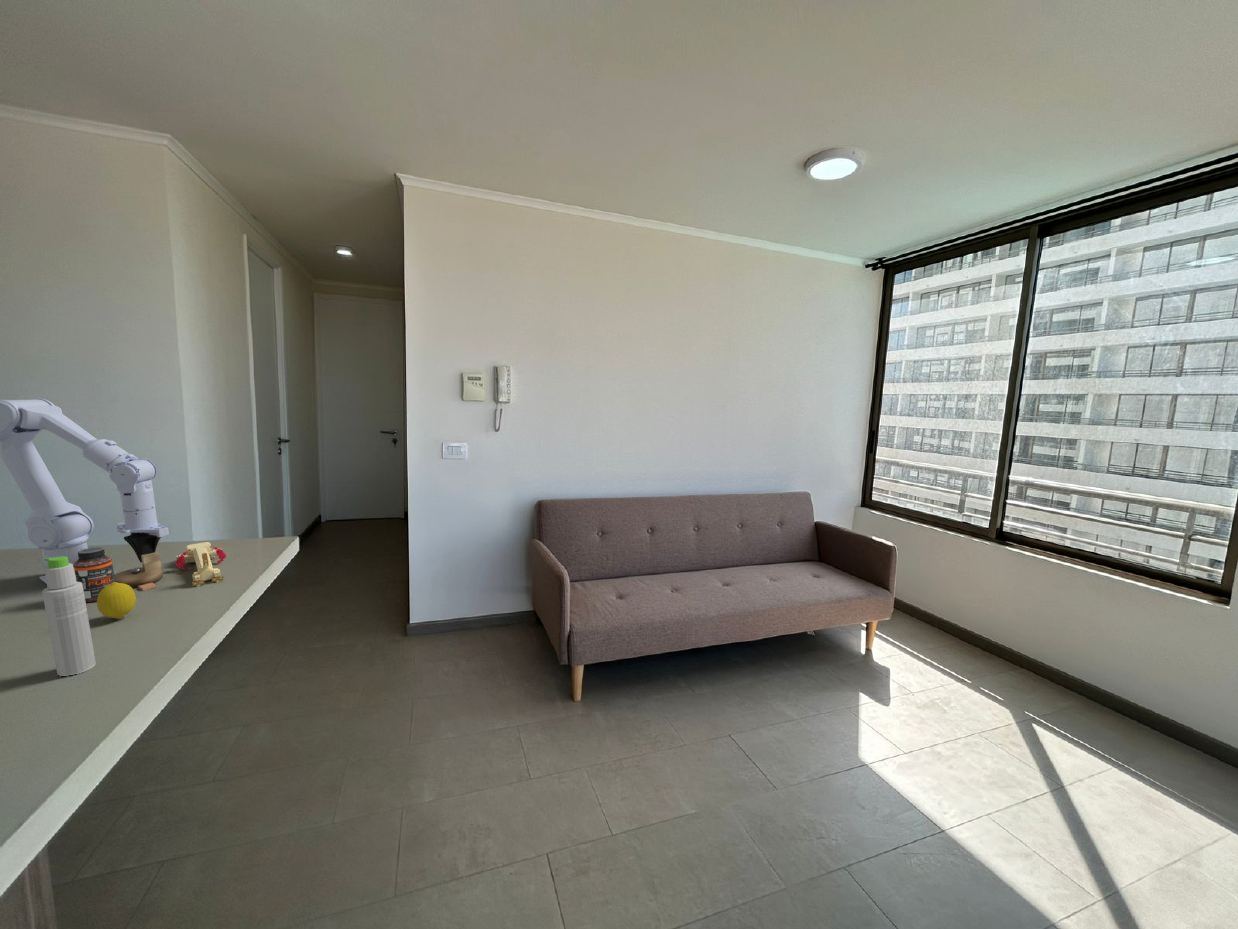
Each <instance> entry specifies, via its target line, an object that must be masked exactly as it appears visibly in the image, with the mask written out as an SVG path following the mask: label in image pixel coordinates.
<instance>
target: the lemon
mask: <svg viewBox="0 0 1238 929" xmlns="http://www.w3.org/2000/svg"><path fill="white" fill-rule="evenodd" d="M136 603H137V596H136V593H135V591H134V588H131V587H130V586H129V585H127V584H123V583H117V582H113V583H111V584H110V585H108V586H106V587H105V588H104V589H102V590H101V591H100V593H99V595H98V598H97V601H96V606H97V610H98V611H99V612H100V614H101V615H102V616H104V617H107V618H113V619H116V620H121V619H122V618H124V616H126V615H128V614H129V613H130V612H131V611H132V610H133V609H134V608H135V606H136Z"/></svg>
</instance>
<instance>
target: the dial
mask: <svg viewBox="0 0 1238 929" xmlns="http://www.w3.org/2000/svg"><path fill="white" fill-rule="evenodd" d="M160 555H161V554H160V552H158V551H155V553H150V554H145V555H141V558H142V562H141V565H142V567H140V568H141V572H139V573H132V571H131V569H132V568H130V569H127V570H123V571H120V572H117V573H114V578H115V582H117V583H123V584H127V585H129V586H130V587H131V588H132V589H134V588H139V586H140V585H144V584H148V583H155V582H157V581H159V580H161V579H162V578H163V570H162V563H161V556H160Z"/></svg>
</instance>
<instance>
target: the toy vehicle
mask: <svg viewBox="0 0 1238 929" xmlns="http://www.w3.org/2000/svg"><path fill="white" fill-rule="evenodd" d="M214 554H216V555H214ZM226 555H227V554H226V552H224V550H223V549H222V548H218V546H212V545H211V542H209V541H205V542H198V543H192V544H188V545H186V546H185V552H182V554H179V555H176V556H175V558H176V560H175V566H176V567H177V568H179V569H180V570H184V571H190V570H189V568H188V569H187V566H185V564H187V563H195V566H196V569H197V571H195V572H194V571H193V574H192V575H191V576H192V580H191V584H192V587H194V586H195V587H196V586H198V587H200V586H199V585H201V586H202V585H204V584H205V582H206V581H211V582H212V583H214V582H215V581H216V582H217V583H219V582H218V581H220V582H221V581H224V575H223V574H221V570H220V568H218V567H214V568H213V564H212V560H211V559H216V556H217V557H218V559H219V560H217V565H220V564H221V563H222V562H224V560H225V559H226V557H227V556H226ZM210 579H211V580H210ZM216 582H215V583H216Z"/></svg>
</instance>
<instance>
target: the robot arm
mask: <svg viewBox="0 0 1238 929" xmlns="http://www.w3.org/2000/svg"><path fill="white" fill-rule="evenodd" d="M44 430H46V431H48V432H50V433H52V434H54V435H55V436H56V437H57V436H58V437H60V438H61V439H63V440H64V441H66V442H68V443H70V444H71V445H74V446H76V447H78V448H79V449H81V451H82V455H83V457H84V458H85V459H86V460H88V461H89V462H92V463H93V464H95V465H96V466H98V467H99V468H101V469H102V470H104V471H106V472H107V473H109V478H110V481H112V483H114V484H115V485H116V487H117V488H116V489H117V492H119V493H120V500H121V508H122V514H123V521H124V522H121V523H117V524H115V525H116V526H115V527H116V531H117V533H119V534H129V533H130V534H129V535H126V536H124V537H123V539H124V541H125V542H127V544H128V545H129V546H130V547H131V549H132V550H133V552H134V553H135V555H136V557H137V559H138V560H139V562H140V563H142V558H141V555H145V554H150V553H155V552H157V551H156V550H157V547H158V544H159V542H160V540H161V538H163V537H165V536H166V537H167V536H169V535H170V533H169V532H170V531H169V527H167V526H163V525H162V524H160V523H159V522H158V517H157V516H158V515H157V508H156V501H155V495H154V494H155V493H154V488H153V479H155V478H156V476H157V474H158V470H157V467H156V464H154V463H153V461H151V460H150V459H148V458H145V457H144V458H143V457H137V456H135V455H134V454H133V453H129V452H128V451H127V450H125V449H123V448H122V447H120V446H118V445H117V444H118V443H117V442H115V441H114V440H113V439H112V440H111V439H110V440H109V439H106V438H102V439H98V438H96V437H95V436H94V435H92V434H90V433H89V432H88V431H86V430H85V429H84V428H82V427H81V426H80V425H79V424H77V423H76V422H74V421H73V420H72V419H70V418H69V417H67V416H66V415H64V414H63V411H62V408H61V407H59V406H57V405H55V404H54V403H53V402H51V401H50V400H49V399H45V398H33V399H0V458H1V459H2V461H3V463H4V464H5V466H6V467H7V469H8V471H9V473H10V474H11V476H12V478H13V480H14V481H15V483H16V485H17V487H18V488H19V490H20V492H21V493H22V495H23V497H24V498H25V500H26V502H27V503H28V505H29V507H30V509H31V510H32V512H31V513H30V514H29V516H27V518H26V519H25V521H24V524H25V526H26V528H27V537H28V540H29V541H30V542H31V543H32V544H33V545H34V546H36V547H38V550H41V551H42V552H41V557H42V562H43V563H42V564H43V569H44V570H45V569H46V568H47V567H49V566H48V561H45V559H46V558H54V557H60V556H66V557H67V558H68V562H69V563H71V564H74V563H75V562H76V561H77V560H78V559H79V557H78V552H79V551H81V550H84V549H88V548H89V547H88V546H89V545H88V543H87V540H89V538H90V537H89V536H90V534H92V532H93V530H94V527H95V526H94V521H93V519H92V518H91V517H90V516H89V515H88V514H86V513H85V512H84V511H83V510H82V508H81V507H80V506H79V505H76V504H73V503H70V502H68V501H66V499H65V497H64V495H63V494H62V491H61V490H60V488H59V486H58V485H57V483H56V481H55V480H54V477H53V476H52V474H51V472H50V471H49V469H48V467H47V465H46V464H45V461H44V460H43V458H42V456H41V455H40V453H39V451H38V450H37V448H36V446H35V444H34V442H33V441H34V439H35V438H36V436H38V435H39V434H41V433H42V432H43V431H44ZM52 518H53V519H52ZM44 574H45V573H44ZM39 580H40V581H42V582H43V583H45V584H46V585H47V582H46V574H45V575H41V576H39Z"/></svg>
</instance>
